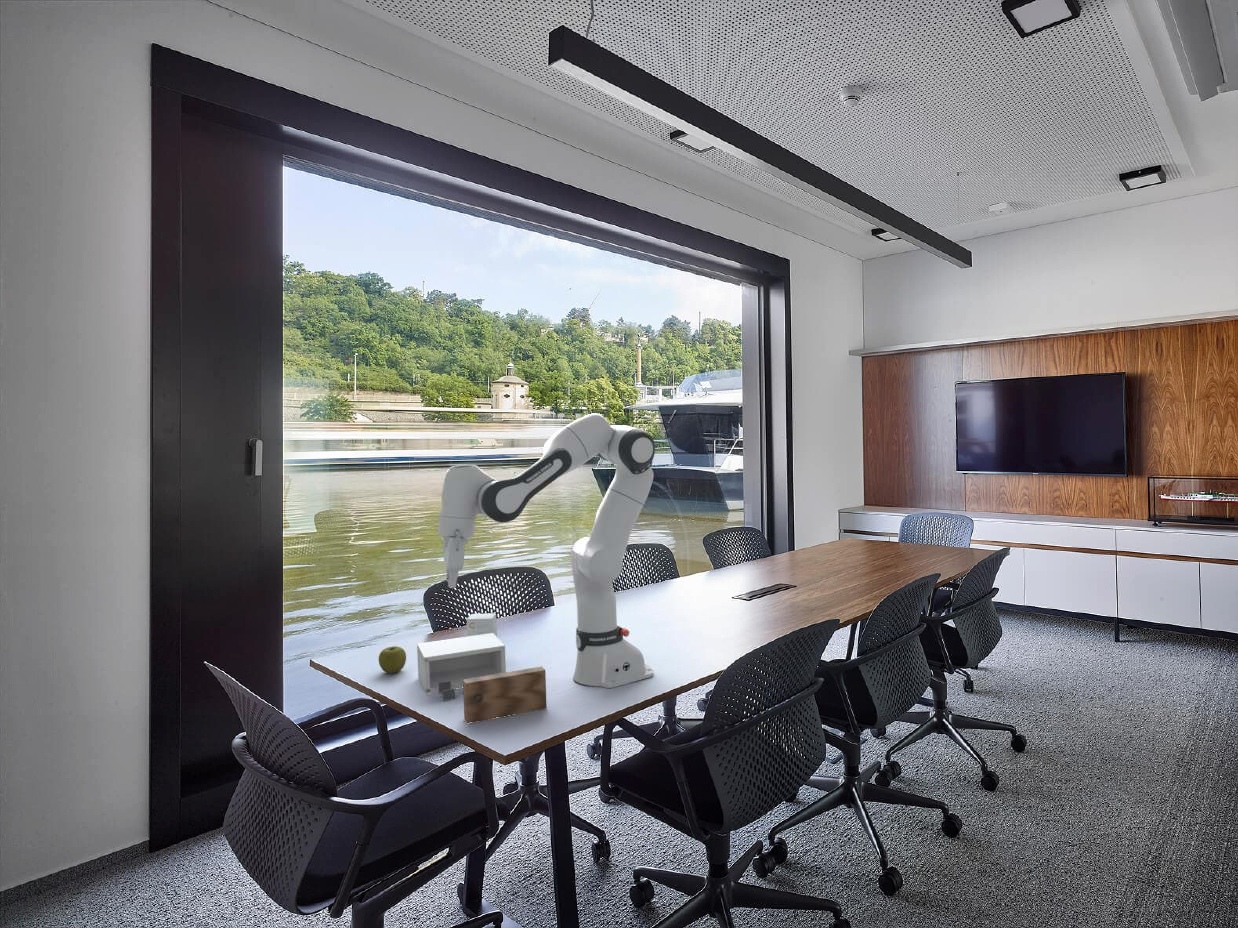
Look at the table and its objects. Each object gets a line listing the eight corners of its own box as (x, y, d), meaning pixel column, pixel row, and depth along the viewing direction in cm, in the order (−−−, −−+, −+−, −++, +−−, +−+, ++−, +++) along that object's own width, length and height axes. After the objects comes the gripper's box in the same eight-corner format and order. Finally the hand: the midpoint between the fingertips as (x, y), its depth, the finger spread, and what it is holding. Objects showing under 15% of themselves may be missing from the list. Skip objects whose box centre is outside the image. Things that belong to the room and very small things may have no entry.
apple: (373, 675, 205) (372, 651, 205) (391, 666, 213) (390, 643, 213) (394, 678, 203) (393, 653, 202) (412, 669, 210) (411, 645, 210)
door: (542, 705, 180) (541, 666, 179) (547, 710, 176) (546, 670, 176) (464, 720, 172) (462, 679, 171) (467, 725, 168) (466, 684, 168)
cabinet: (494, 666, 211) (492, 632, 210) (512, 688, 192) (511, 652, 191) (418, 678, 202) (417, 643, 202) (429, 702, 183) (428, 664, 183)
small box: (498, 653, 223) (496, 612, 222) (494, 660, 216) (492, 618, 216) (472, 654, 223) (470, 613, 222) (467, 660, 216) (466, 618, 216)
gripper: (472, 532, 166) (466, 591, 165) (466, 527, 186) (460, 579, 185) (445, 530, 164) (439, 590, 164) (441, 525, 184) (436, 578, 183)
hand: (450, 584), depth 174 cm, fingers open, 8 cm apart
